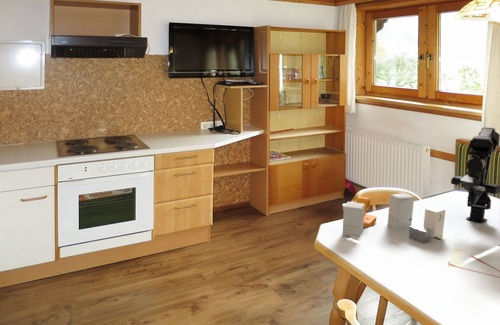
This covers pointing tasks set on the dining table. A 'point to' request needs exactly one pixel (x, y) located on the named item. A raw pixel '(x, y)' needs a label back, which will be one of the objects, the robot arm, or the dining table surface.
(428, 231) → the dark gray block
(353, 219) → the supplement box
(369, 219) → the bracket
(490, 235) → the dining table surface
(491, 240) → the dining table surface
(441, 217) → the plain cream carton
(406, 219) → the skincare box
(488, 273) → the dining table surface
